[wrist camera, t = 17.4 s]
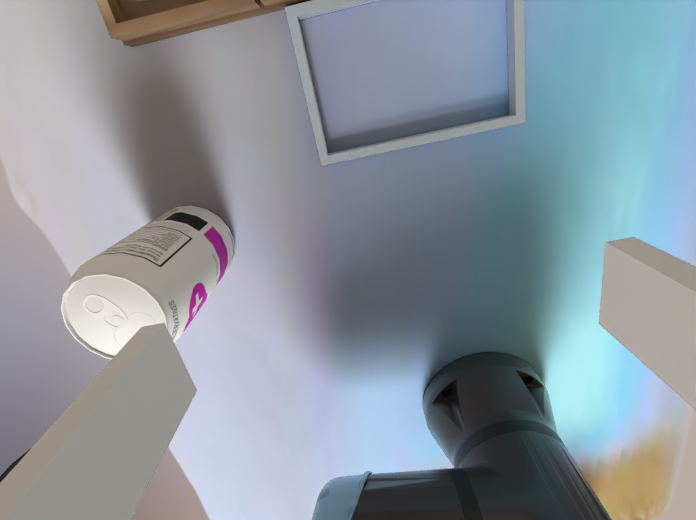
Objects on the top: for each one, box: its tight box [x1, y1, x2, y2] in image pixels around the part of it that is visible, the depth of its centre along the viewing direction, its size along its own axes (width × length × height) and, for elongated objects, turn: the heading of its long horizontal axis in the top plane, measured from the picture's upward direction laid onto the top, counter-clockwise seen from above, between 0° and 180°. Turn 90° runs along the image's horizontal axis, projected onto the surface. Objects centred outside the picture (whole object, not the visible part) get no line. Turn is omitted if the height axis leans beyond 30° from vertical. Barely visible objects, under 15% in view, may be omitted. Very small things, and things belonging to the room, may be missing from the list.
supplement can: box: [61, 205, 235, 359], centre depth 32 cm, size 8×8×15 cm
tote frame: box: [285, 0, 525, 166], centre depth 31 cm, size 13×19×2 cm
